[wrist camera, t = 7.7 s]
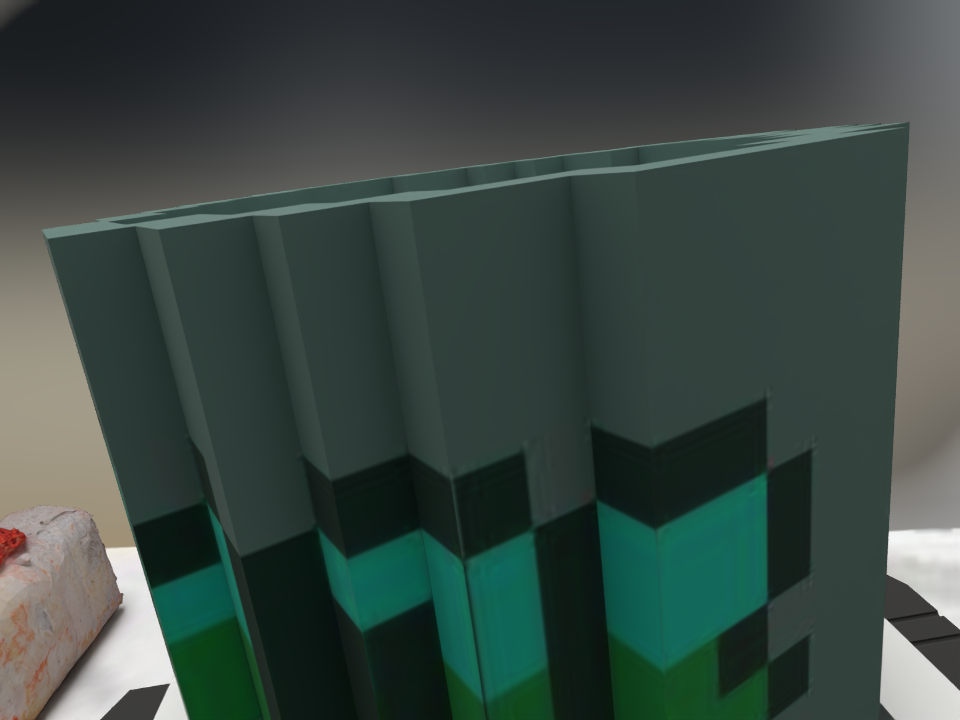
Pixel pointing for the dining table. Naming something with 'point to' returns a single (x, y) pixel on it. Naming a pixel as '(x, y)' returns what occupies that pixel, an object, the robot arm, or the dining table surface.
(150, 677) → the dining table surface
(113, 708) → the robot arm
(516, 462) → the can
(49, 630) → the food item
